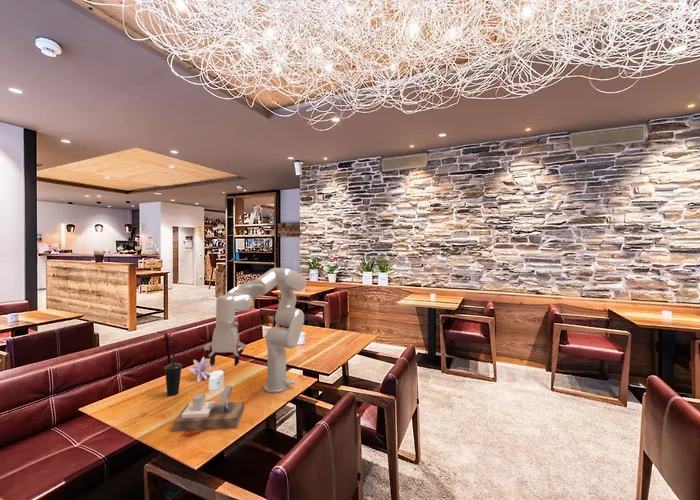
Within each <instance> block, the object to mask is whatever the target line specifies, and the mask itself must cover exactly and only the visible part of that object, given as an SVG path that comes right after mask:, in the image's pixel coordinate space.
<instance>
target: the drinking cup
mask: <svg viewBox="0 0 700 500" xmlns="http://www.w3.org/2000/svg"><path fill="white" fill-rule="evenodd" d="M182 368H183V364H182V363H179V362H177V363H176V362H175V353H172V363H170V364H168V365H166V366H164V371H165V373H164V374H165V381H166V382H165V384H166V385H165V386H166V394H167V396H168V397H173V396H176V395H178V394H179V392H180V383H181V374H182Z"/></svg>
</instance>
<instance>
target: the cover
mask: <svg viewBox="0 0 700 500" xmlns="http://www.w3.org/2000/svg"><path fill="white" fill-rule="evenodd" d="M205 395H206V393H205V392H198V393H196V395H195V396H194V397H193V398H192V402H189V403H188V404H189V406H188V407H187V408H186V409H185V411H184V412H183V413H182V415H181V418H200V417H208V416H209V414H210V412H211V411H212V409H213V408H208V405H209V403H216V401H205V400H206V399H205Z"/></svg>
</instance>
